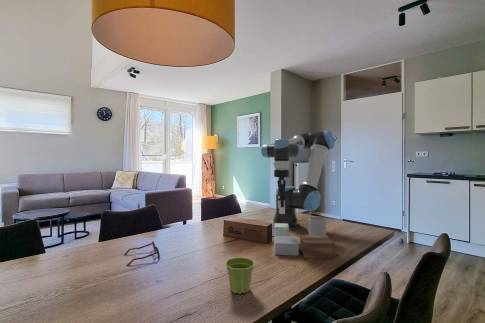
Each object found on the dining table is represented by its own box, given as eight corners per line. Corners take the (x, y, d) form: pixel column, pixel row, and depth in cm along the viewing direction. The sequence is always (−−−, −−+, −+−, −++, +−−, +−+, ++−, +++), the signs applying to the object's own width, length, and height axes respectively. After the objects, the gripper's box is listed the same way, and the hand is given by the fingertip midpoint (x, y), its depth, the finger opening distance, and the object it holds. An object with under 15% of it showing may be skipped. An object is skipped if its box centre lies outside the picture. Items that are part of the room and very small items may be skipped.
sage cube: (274, 236, 138) (274, 223, 137) (287, 236, 137) (287, 223, 137) (274, 240, 131) (274, 226, 130) (289, 241, 130) (289, 227, 130)
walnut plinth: (300, 247, 121) (300, 234, 121) (326, 248, 120) (326, 235, 120) (303, 257, 109) (303, 243, 109) (333, 258, 108) (333, 244, 108)
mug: (329, 241, 130) (330, 219, 129) (316, 243, 126) (316, 221, 126) (313, 234, 140) (313, 214, 140) (300, 236, 137) (300, 215, 136)
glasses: (160, 260, 108) (160, 248, 108) (126, 267, 102) (126, 254, 101) (154, 250, 119) (154, 239, 119) (123, 255, 113) (123, 244, 113)
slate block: (274, 246, 122) (274, 235, 122) (295, 247, 121) (295, 236, 121) (274, 254, 112) (274, 243, 112) (298, 255, 111) (298, 243, 111)
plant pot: (232, 280, 90) (232, 255, 90) (258, 285, 86) (258, 259, 86) (220, 293, 81) (220, 266, 81) (248, 300, 77) (248, 271, 77)
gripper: (273, 168, 146) (273, 205, 146) (274, 170, 121) (274, 216, 121) (287, 168, 145) (286, 206, 145) (291, 170, 120) (290, 216, 120)
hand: (281, 210), depth 133 cm, fingers open, 13 cm apart
